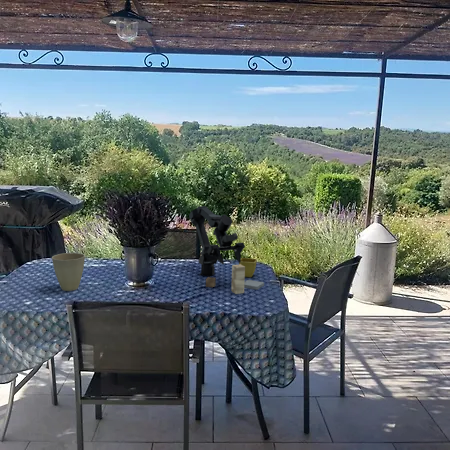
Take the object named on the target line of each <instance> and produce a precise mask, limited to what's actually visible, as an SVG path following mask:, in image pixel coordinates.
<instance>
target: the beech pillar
mask: <svg viewBox="0 0 450 450" xmlns="http://www.w3.org/2000/svg"><path fill="white" fill-rule="evenodd" d="M245 278H246V277H245V266H243V265H239V264H232V265H231V291H232V293H234V295H239V294H245V288H244V282H245V281H246V279H245Z"/></svg>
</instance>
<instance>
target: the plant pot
mask: <svg viewBox="0 0 450 450" xmlns="http://www.w3.org/2000/svg"><path fill="white" fill-rule="evenodd" d="M85 259H86V255H85V254H84V253H80V252H66V253H65V252H64V253H59V254H55V255H53V256H51V260H52V261H51V262H52V265H53V266H52V267H53V270H54V273H55V277H56V279H57V282H58V284H59V286H60V289H61V290H62V291H65V292H71V291H76V290H78V289H79V287H80V284H81V280H82V276H83V273H84V268H85V262H86V261H85Z"/></svg>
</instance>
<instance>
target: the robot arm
mask: <svg viewBox="0 0 450 450" xmlns="http://www.w3.org/2000/svg"><path fill="white" fill-rule="evenodd" d="M188 217H189V220H190V222H191V224H192V225H194V227H195V228H196V232H197V235H198V239H199V242H200V244H201V252H200V256H199V258H198V264H200V267H201V269H200V271H201V272H200V273H199V276H206V277H211V276H213V275H216V272H215V267H216V266H215V265H217V262H218V261H219V263H221V265H224V264H225V261H224V259H223V256H222V253H221V252H224V251H233V252H234V256H235V258H236V260H237V261H238V262H237V263H238V264H239V263H240V262H241V258H242V257H241V253H242V252H243V250H244V249H245V248H246V245H245V243H244V242H236V243H235V245H233V243H234V242H235V241H237V240H238V238H239V235H238V234H237V233H236V232H234V233H231V234H228V233H227V232H228V231H229V230H230V227H231V226H232V224H233V220H232V218H231V217H229V216H227V214H222V215H219V214H215V213H214V212H213V211H211V210H210V209H209V208H208V207H207V206H205V205H201V206H197V207H196V208H195V209H193V210H191V211H190V213H189V215H188ZM205 221H207V225H208V226H209V227H210V228H213V233H212V235H213V236H215V238H216V244H211V242H210V239H209V236H208V232H207V229H206V226H205Z"/></svg>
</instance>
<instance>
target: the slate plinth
mask: <svg viewBox="0 0 450 450" xmlns="http://www.w3.org/2000/svg"><path fill="white" fill-rule="evenodd" d="M264 286H265V282H263V281H257V280H251V279H247V280H245V281H244V289H250V290H259V289H261V288H262V287H264Z"/></svg>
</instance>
